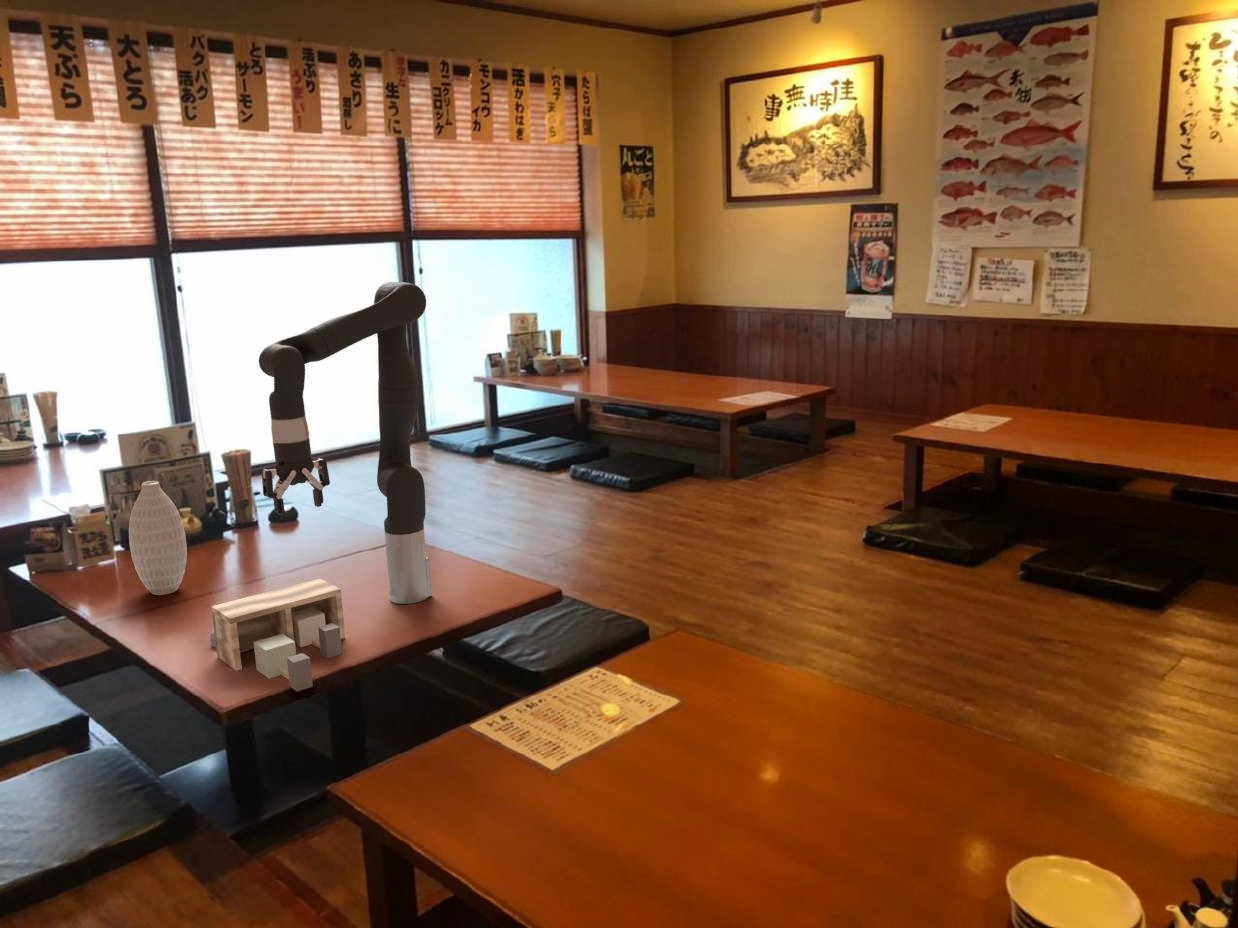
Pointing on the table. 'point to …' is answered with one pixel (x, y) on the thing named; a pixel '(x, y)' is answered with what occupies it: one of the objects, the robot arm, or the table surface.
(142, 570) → the vase
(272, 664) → the sage block
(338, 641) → the cream block
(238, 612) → the shelf
